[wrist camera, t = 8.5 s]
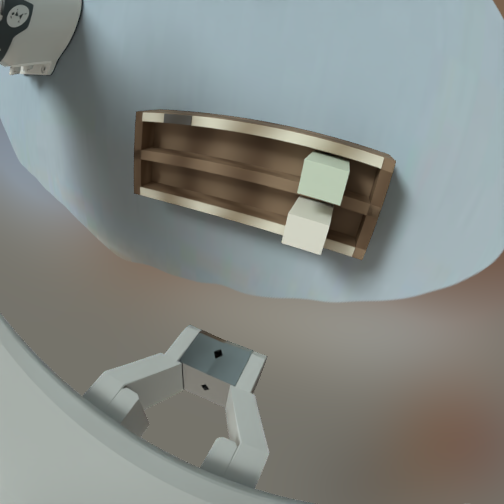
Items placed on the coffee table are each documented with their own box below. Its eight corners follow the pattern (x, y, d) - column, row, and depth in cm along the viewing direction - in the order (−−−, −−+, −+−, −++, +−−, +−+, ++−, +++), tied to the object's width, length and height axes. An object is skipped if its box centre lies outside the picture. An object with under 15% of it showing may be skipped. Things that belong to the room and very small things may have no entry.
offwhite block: (296, 216, 25) (281, 242, 20) (301, 192, 24) (288, 213, 19) (327, 226, 24) (320, 255, 20) (334, 201, 23) (329, 225, 18)
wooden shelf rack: (155, 183, 31) (132, 193, 27) (160, 109, 26) (134, 111, 23) (361, 240, 26) (362, 261, 22) (388, 154, 21) (396, 161, 18)
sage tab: (308, 176, 23) (297, 193, 18) (314, 149, 21) (304, 159, 17) (342, 185, 22) (340, 205, 17) (349, 159, 21) (349, 171, 16)
